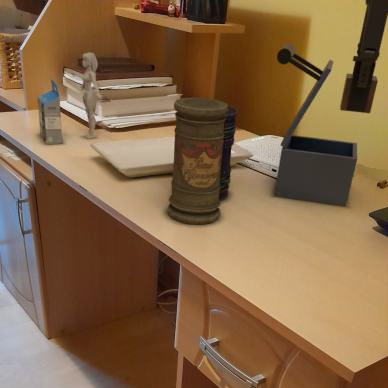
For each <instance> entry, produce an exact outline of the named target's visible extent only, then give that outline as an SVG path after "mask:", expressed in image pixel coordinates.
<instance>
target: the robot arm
mask: <svg viewBox="0 0 388 388" xmlns="http://www.w3.org/2000/svg"><path fill="white" fill-rule="evenodd" d="M364 2H365V5H366V8H365V12H364V17H363V23H362V28H361V32H360V35H359V36H360V37H359V40H358V41H359V42H358V43H357V48H356V49H357V50H356V55H353V56H352V62H354V66H353V70H352V74H354V76H353V81H352V86H351V90H350V95H349V100H348V105H347V110H352V111H362V112H365V109H366V104H367V100H368V96H369V91H370V87H371V83H372V78H373V76H374V73H375V69H376V65H377V61H378V59H379V57H380V54H381V53H380V50H381V45H382V41H383V37H384V34H385V28H386V24H387V19H388V0H365V1H364ZM352 111H351V112H352Z"/></svg>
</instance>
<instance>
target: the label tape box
mask: <svg viewBox="0 0 388 388" xmlns="http://www.w3.org/2000/svg"><path fill="white" fill-rule="evenodd" d="M50 84H51V90H49V91H47V92H45V93H42V94H41V95H39V96H37V110H38V111H37V112H38V124H39V135H40V136H41V137H42V139H43V141H44V142H45V143H46V144H48V145H61V144H63V132H62V117H61V116H62V113H61V99H60V98H61V96H60V91H59V86H58V83H56V81H54V80H53V79H52V78H50Z"/></svg>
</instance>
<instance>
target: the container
mask: <svg viewBox="0 0 388 388" xmlns="http://www.w3.org/2000/svg"><path fill="white" fill-rule="evenodd" d="M228 106H229V105H228V104H227V103H226V102H224V101H222V100H219V99H212V98H204V97H183V98H178V99H176V100H175V101H174V103H173V109H174V110H175V113H174V116H175V127H174V130H173V131H174V132H173V133H174V136H175V142H174V167H173V173H172V179H171V192H170V193H171V194H170V196H169V197H168V202H169V204H168V205H167V213H168V215H169V217H170V218H172V219H173V220H175V221H177V222H180V223H183V224H187V225H209V224H212V223H215V222H216V221H218V219H219V218H220V216H221V209H220V206H221V201H219V190H220V183H219V181H220V170H221V159H222V149H223V137H224V122H225V119H226V117H225V116H224V115H225V114H227V112H228Z"/></svg>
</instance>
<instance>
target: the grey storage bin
mask: <svg viewBox="0 0 388 388" xmlns="http://www.w3.org/2000/svg"><path fill="white" fill-rule="evenodd" d="M281 147H282V146H281ZM357 162H358V143H357V142H352V141H343V140H335V139H329V138H319V137H313V136H303V135H296V134H292V135H291V137H290V139H289V140H288V142H287V144H286V145H285V147H282V148H281V150H280V156H279V164H278V169H277V176H276V183H275V188H274V197H278V198H284V199H285V198H286V199H291V200H298V201H305V202H314V203H319V204H326V205H331V206H332V205H333V206H340V207H347V203H348V199H349V196H350V191H351V188H352V184H353V183H352V182H353V179H354V176H355V175H354V174H355V170H356V166H357Z"/></svg>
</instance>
